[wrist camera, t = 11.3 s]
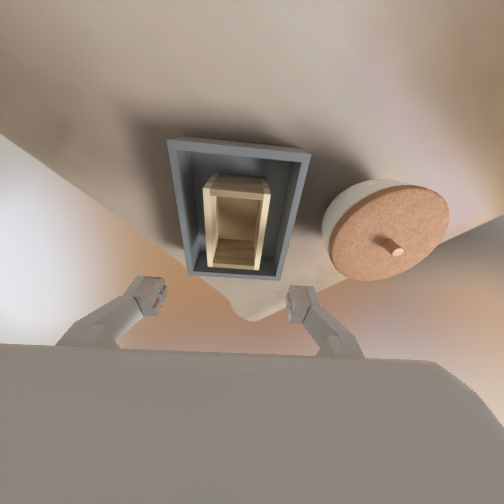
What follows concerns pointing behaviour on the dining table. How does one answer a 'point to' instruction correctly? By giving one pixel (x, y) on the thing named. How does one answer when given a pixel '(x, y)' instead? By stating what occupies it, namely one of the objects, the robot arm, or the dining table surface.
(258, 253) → the pine crate
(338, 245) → the lidded jar
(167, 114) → the dining table surface
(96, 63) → the dining table surface
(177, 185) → the grey crate
